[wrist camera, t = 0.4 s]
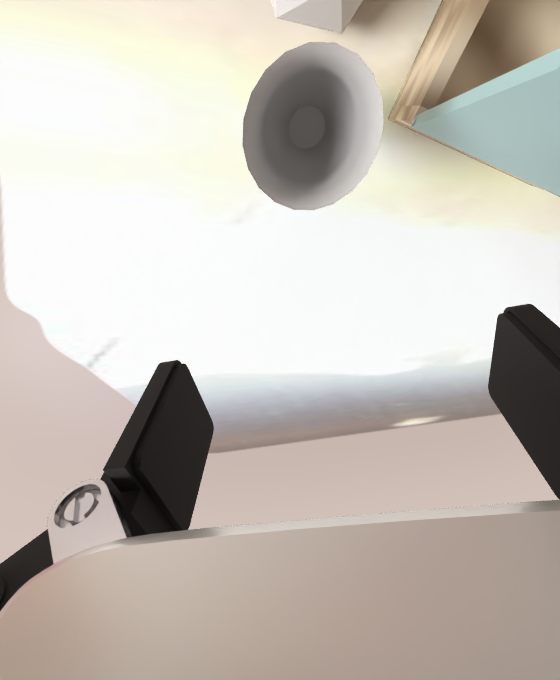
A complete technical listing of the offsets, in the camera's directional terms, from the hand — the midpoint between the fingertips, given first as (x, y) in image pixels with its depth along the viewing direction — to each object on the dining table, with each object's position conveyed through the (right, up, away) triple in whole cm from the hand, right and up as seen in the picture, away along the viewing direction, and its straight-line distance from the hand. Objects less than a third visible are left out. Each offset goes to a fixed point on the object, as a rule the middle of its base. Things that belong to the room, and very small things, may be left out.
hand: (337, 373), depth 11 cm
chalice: (0, +21, +22) cm, 30 cm away
